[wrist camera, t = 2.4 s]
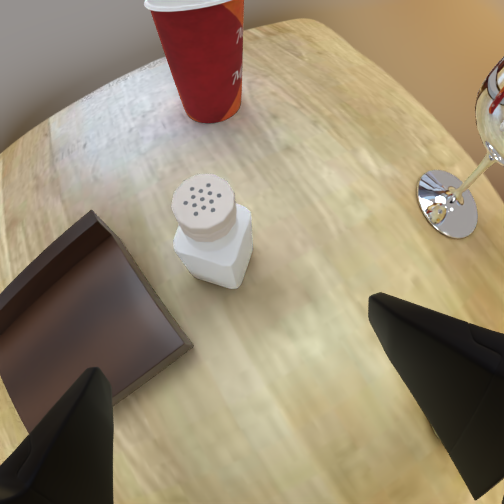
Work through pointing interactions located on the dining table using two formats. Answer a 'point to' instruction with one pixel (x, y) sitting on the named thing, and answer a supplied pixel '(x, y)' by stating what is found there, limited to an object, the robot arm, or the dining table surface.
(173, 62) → the coffee cup
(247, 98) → the dining table surface
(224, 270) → the pepper shaker
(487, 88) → the wineglass
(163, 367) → the spice rack
